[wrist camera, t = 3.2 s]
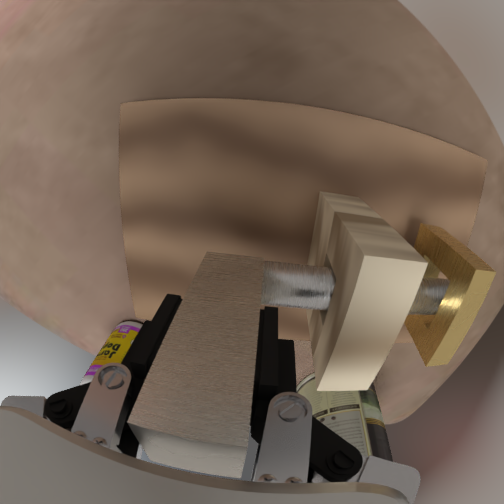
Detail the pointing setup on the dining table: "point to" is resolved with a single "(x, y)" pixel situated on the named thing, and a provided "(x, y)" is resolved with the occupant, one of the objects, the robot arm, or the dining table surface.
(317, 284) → the crank handle
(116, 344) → the supplement bottle
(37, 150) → the dining table surface
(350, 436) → the coffee can
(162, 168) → the bearing stand
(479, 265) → the frame
